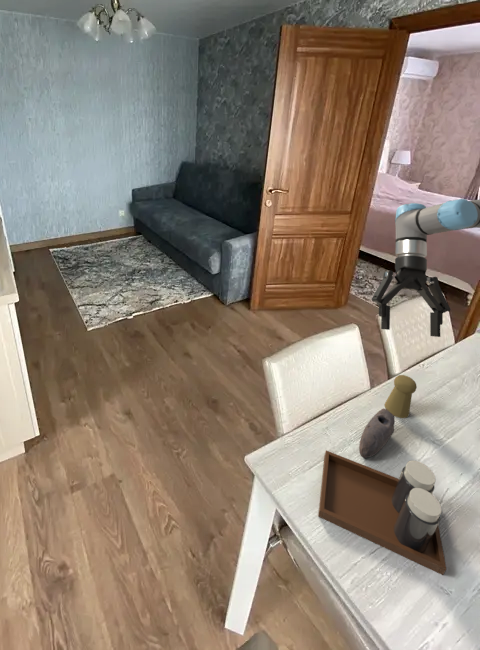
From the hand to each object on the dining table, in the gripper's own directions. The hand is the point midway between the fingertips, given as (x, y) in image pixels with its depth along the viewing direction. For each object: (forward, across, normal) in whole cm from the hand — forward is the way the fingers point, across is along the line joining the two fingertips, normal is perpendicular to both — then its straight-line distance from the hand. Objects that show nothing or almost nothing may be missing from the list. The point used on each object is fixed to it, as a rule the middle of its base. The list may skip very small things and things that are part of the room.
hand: (410, 333), depth 94 cm
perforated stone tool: (+29, +10, +1) cm, 31 cm away
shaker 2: (+41, +12, +18) cm, 46 cm away
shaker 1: (+37, +10, +14) cm, 41 cm away
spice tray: (+39, +16, +14) cm, 44 cm away
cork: (+22, -2, -8) cm, 23 cm away
